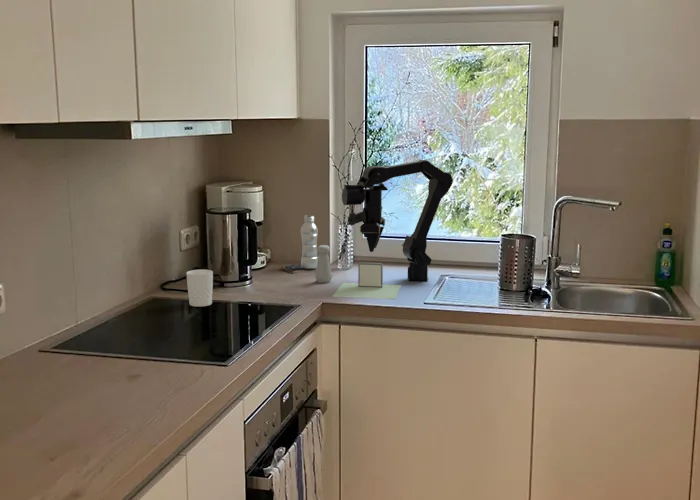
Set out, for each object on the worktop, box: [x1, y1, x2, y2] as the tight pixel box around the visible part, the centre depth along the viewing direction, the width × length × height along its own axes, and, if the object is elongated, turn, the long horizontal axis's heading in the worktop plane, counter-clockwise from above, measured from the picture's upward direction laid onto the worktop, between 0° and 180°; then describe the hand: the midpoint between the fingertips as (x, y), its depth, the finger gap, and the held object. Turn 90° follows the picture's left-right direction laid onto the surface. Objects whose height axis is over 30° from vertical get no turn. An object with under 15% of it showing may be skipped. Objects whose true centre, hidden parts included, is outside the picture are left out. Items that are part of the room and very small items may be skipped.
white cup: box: [185, 269, 214, 308], centre depth 229 cm, size 8×8×10 cm
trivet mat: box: [331, 282, 402, 300], centre depth 246 cm, size 20×20×1 cm
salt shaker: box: [314, 244, 333, 284], centre depth 258 cm, size 6×6×13 cm
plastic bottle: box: [300, 215, 319, 270], centre depth 282 cm, size 6×7×20 cm
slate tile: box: [357, 261, 384, 288], centre depth 251 cm, size 8×2×8 cm, turn 81°
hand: (373, 249), depth 256 cm, fingers open, 8 cm apart
